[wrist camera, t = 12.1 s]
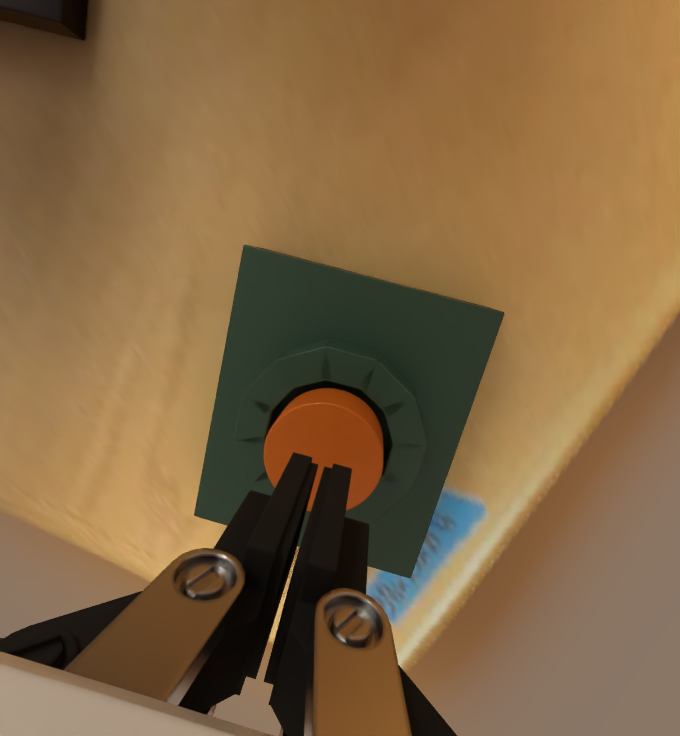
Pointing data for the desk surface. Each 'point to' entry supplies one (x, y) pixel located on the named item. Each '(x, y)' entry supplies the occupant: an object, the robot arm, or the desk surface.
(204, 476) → the control block
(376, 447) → the button
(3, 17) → the bracket
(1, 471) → the desk surface
